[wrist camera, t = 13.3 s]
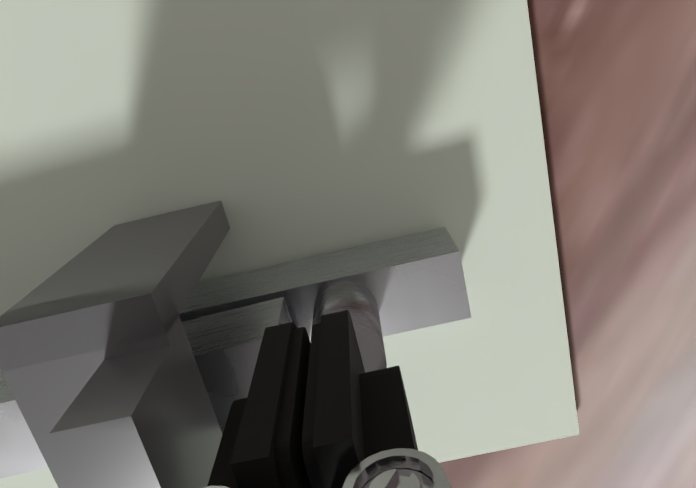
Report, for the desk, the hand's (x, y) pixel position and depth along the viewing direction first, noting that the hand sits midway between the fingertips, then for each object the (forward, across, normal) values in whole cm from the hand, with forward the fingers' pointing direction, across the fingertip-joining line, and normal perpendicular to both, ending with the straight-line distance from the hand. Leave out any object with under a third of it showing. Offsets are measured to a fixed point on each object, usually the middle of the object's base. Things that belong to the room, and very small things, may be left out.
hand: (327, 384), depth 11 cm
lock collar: (+6, +4, 0) cm, 7 cm away
